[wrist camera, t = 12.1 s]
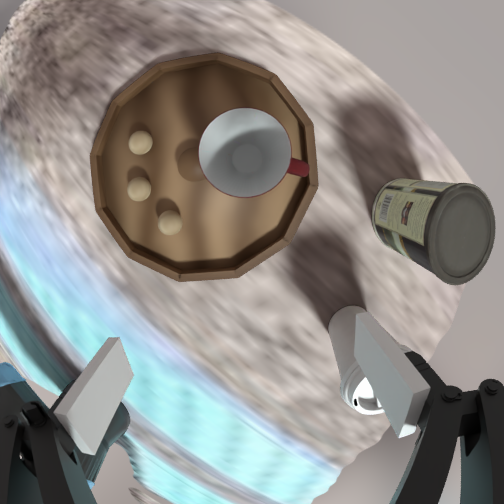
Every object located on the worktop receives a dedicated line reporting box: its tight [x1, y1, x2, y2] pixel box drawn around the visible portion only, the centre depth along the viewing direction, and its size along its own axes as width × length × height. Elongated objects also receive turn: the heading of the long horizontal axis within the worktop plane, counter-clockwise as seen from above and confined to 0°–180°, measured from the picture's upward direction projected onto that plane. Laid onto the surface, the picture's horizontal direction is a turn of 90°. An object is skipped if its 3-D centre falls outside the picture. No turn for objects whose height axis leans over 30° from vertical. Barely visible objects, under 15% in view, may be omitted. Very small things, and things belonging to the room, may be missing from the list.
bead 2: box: [127, 177, 151, 201], centre depth 32 cm, size 3×3×3 cm
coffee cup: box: [328, 306, 412, 415], centre depth 32 cm, size 10×10×15 cm
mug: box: [198, 107, 310, 198], centre depth 28 cm, size 11×8×10 cm
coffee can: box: [372, 178, 495, 285], centre depth 28 cm, size 10×10×14 cm
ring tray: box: [90, 53, 318, 282], centre depth 32 cm, size 28×28×3 cm
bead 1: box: [129, 131, 153, 155], centre depth 30 cm, size 3×3×3 cm
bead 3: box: [158, 210, 182, 235], centre depth 33 cm, size 3×3×3 cm
